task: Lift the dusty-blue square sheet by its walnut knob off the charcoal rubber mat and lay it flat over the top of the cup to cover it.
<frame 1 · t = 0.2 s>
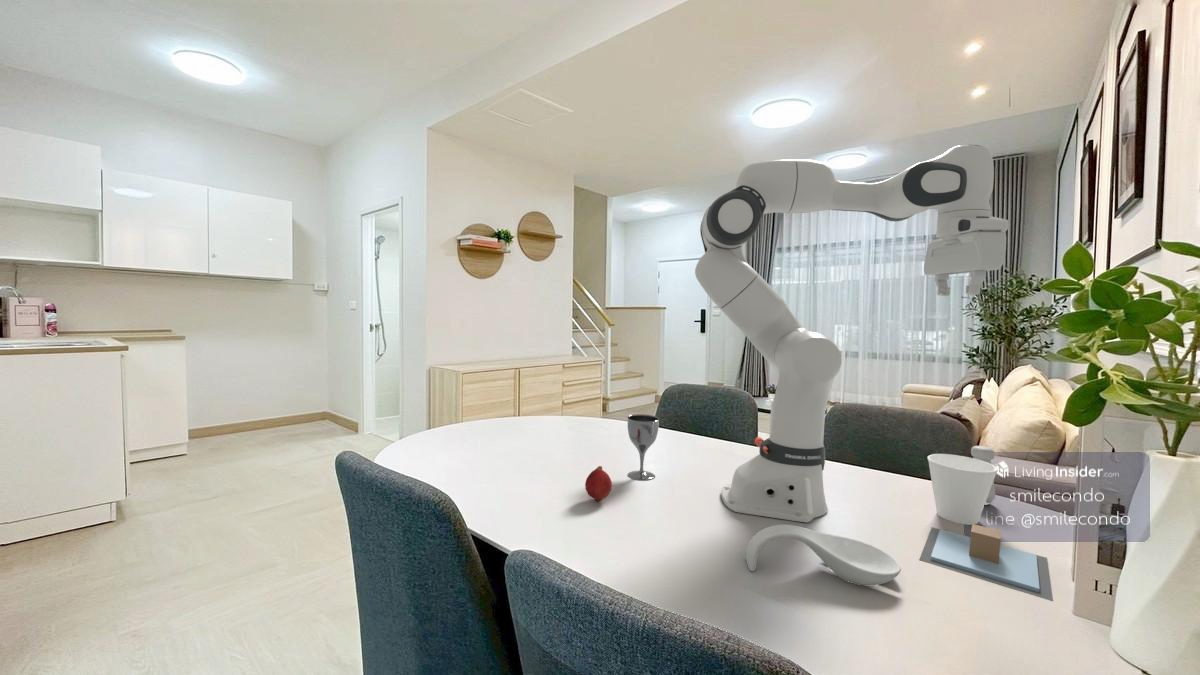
hand: (957, 295, 100), 47 cm above the table, tool pointing down, fingers open, 8 cm apart
wine glass: (641, 476, 123), on the table
onion: (598, 502, 106), on the table
cup: (956, 520, 102), on the table
cover sheet: (983, 558, 85), point 1 cm above the table, touching sheet mat
sheet mat: (983, 562, 85), on the table
salt shaker: (978, 503, 111), on the table
spoon rest: (819, 574, 80), on the table
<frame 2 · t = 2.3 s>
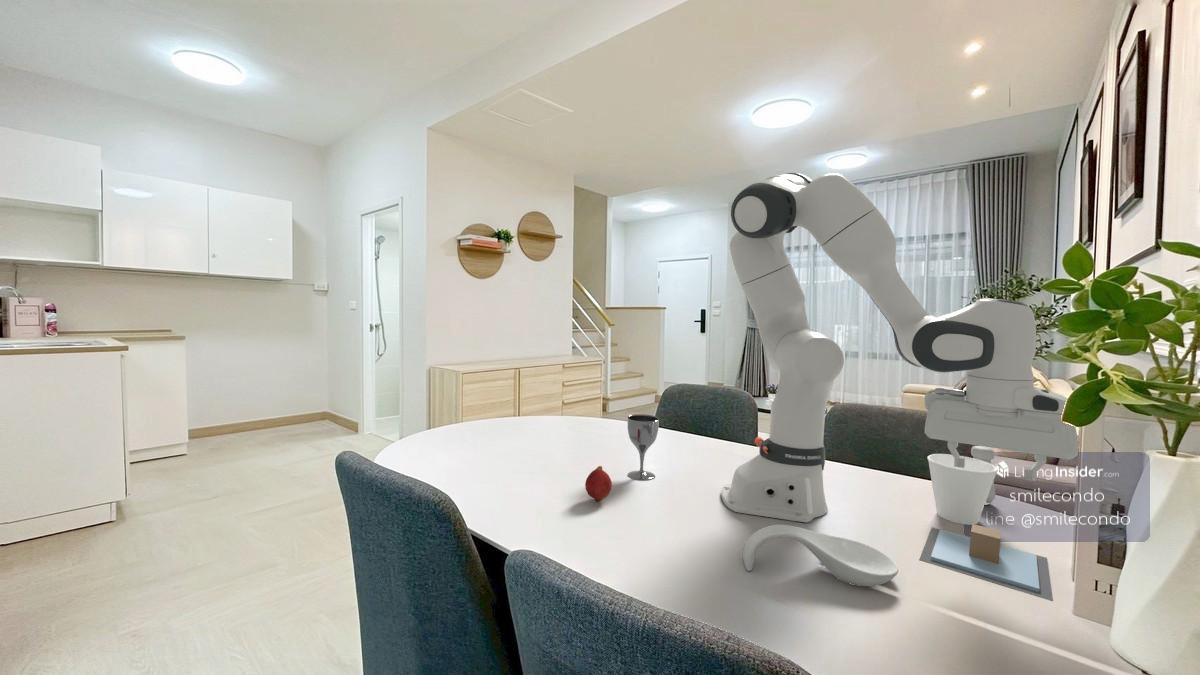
hand: (993, 472, 83), 16 cm above the table, tool pointing down, fingers open, 8 cm apart
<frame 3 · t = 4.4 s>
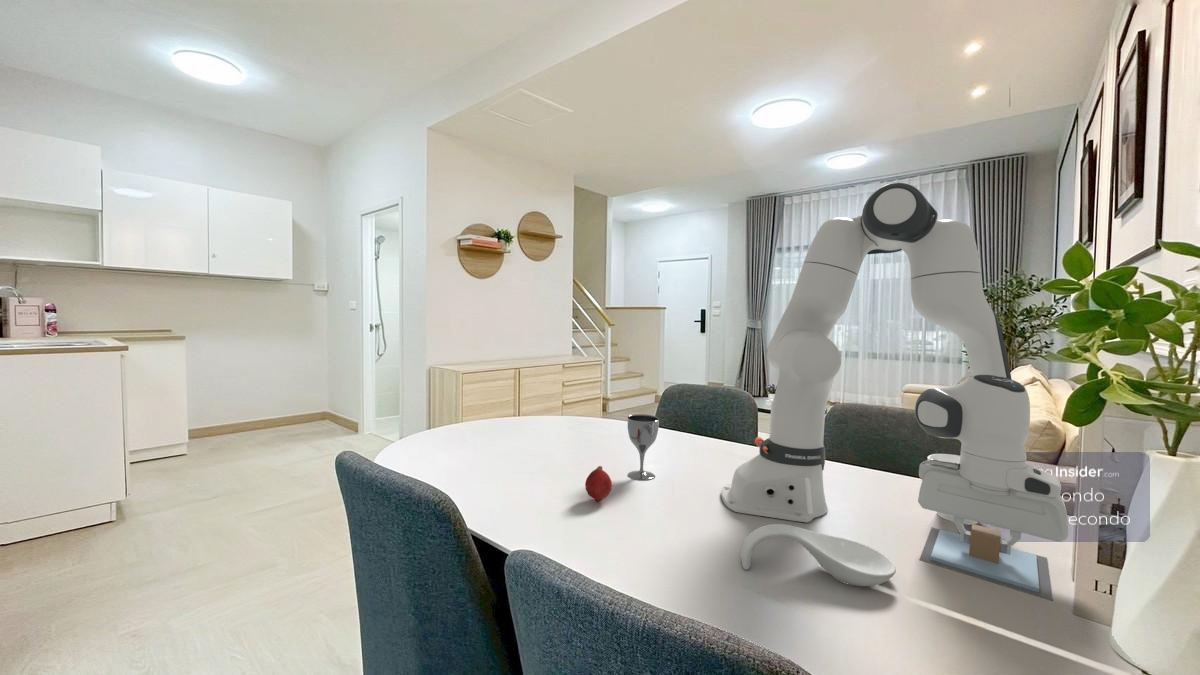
hand: (984, 547, 84), 3 cm above the table, tool pointing down, fingers closed on cover sheet, 4 cm apart
cover sheet: (983, 558, 85), point 1 cm above the table, touching gripper, sheet mat
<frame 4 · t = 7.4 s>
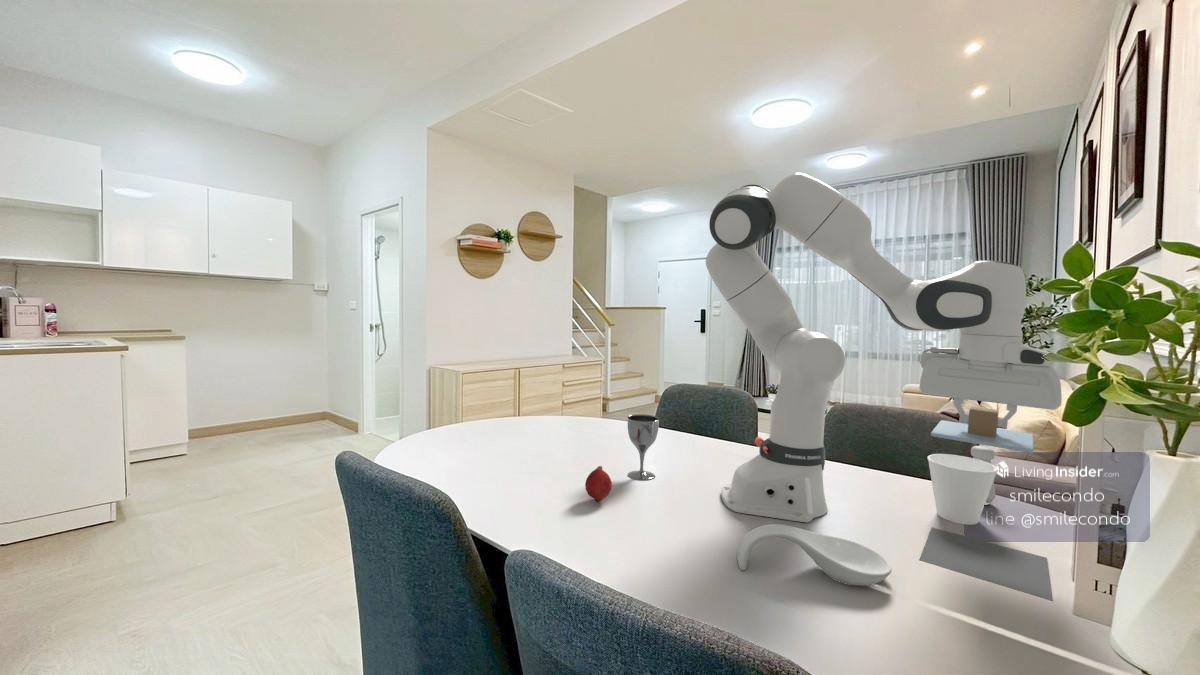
hand: (982, 425, 89), 23 cm above the table, tool pointing down, fingers closed on cover sheet, 4 cm apart
cover sheet: (981, 436, 89), point 21 cm above the table, touching gripper
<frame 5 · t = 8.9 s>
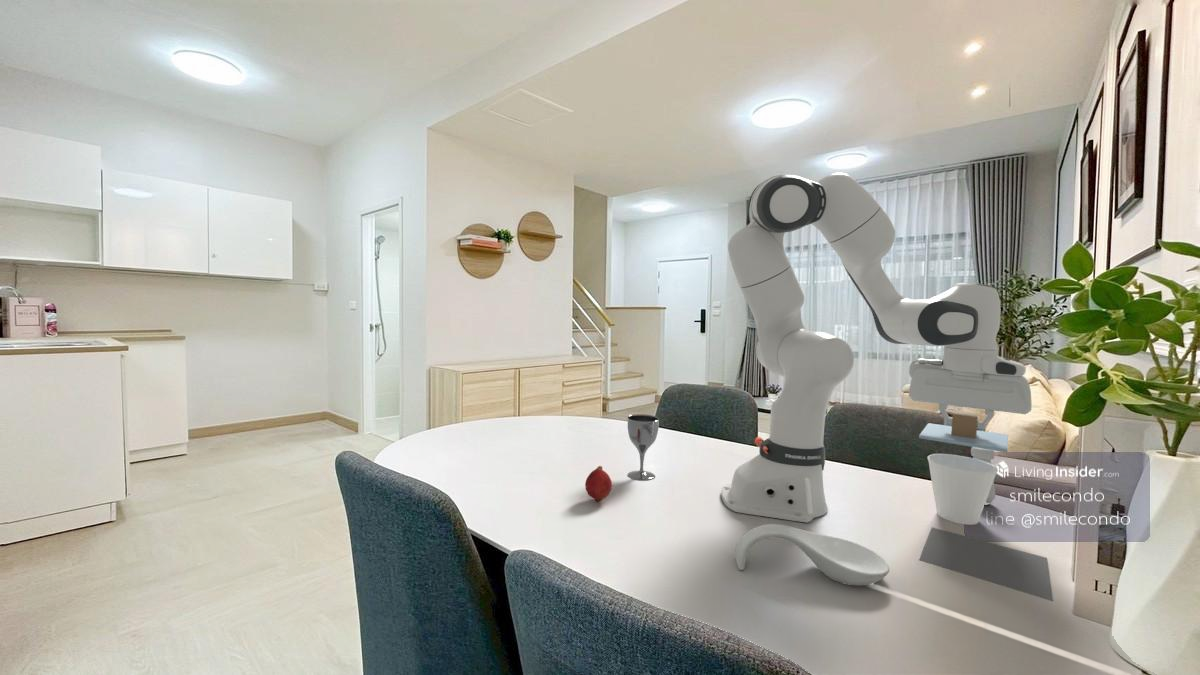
hand: (964, 428, 100), 20 cm above the table, tool pointing down, fingers closed on cover sheet, 4 cm apart
cover sheet: (963, 437, 101), point 18 cm above the table, touching gripper
when the fingers open (16 cm above the table, at t = 10.3 s): cover sheet drops 1 cm, resting on cup.
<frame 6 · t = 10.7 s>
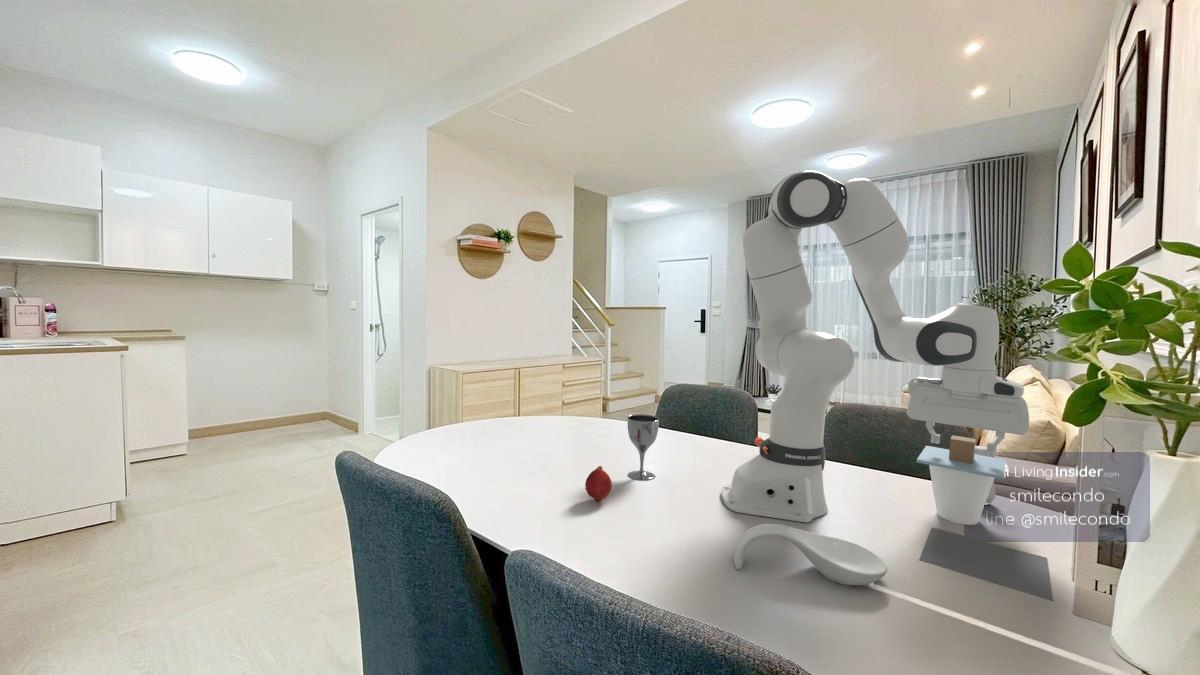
hand: (962, 447, 101), 16 cm above the table, tool pointing down, fingers open, 8 cm apart
cup: (956, 520, 102), on the table, touching cover sheet
cover sheet: (961, 462, 101), point 12 cm above the table, touching cup
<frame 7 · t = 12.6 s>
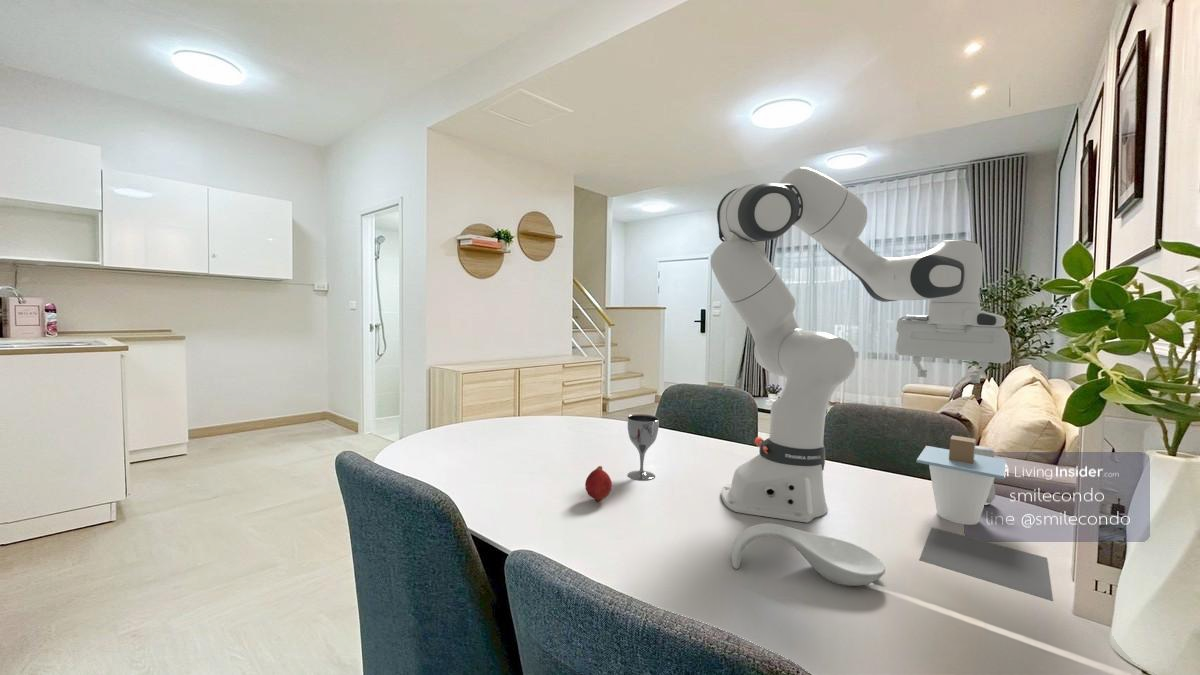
hand: (947, 379, 105), 29 cm above the table, tool pointing down, fingers open, 8 cm apart
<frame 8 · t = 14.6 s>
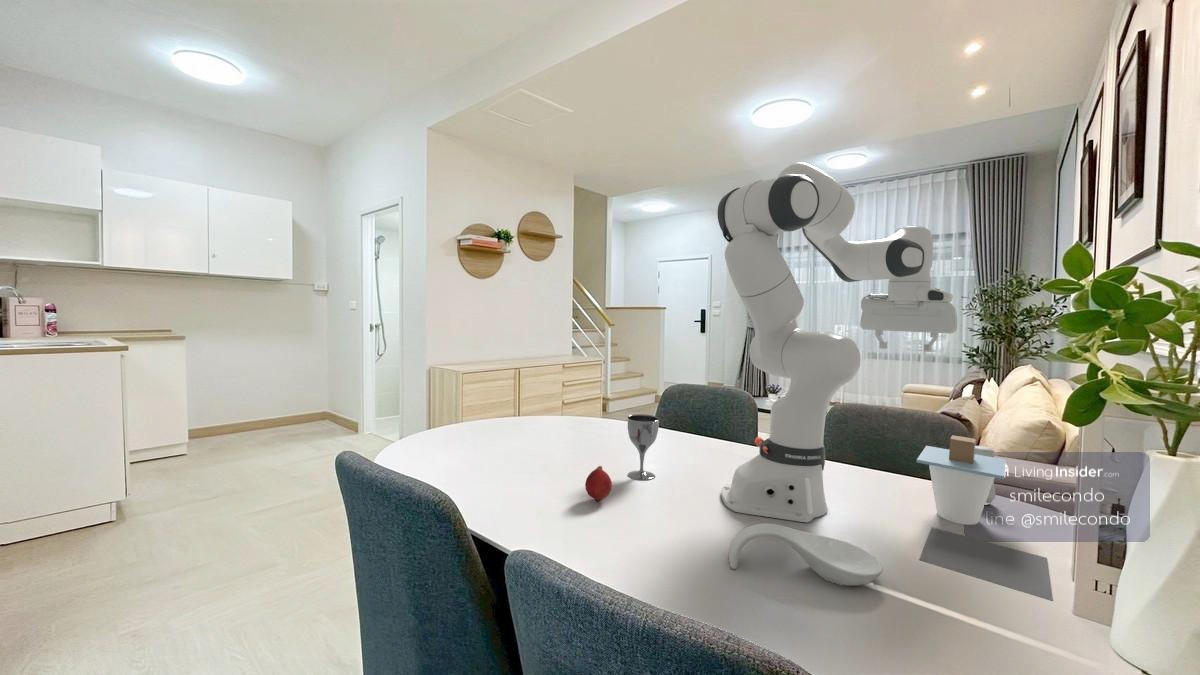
hand: (904, 350, 120), 34 cm above the table, tool pointing down, fingers open, 8 cm apart
at the end: cover sheet 0.1 cm off-centre on the cup, point 12.6 cm above the cup's base; cup tilted 0°; cover sheet touching cup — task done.
